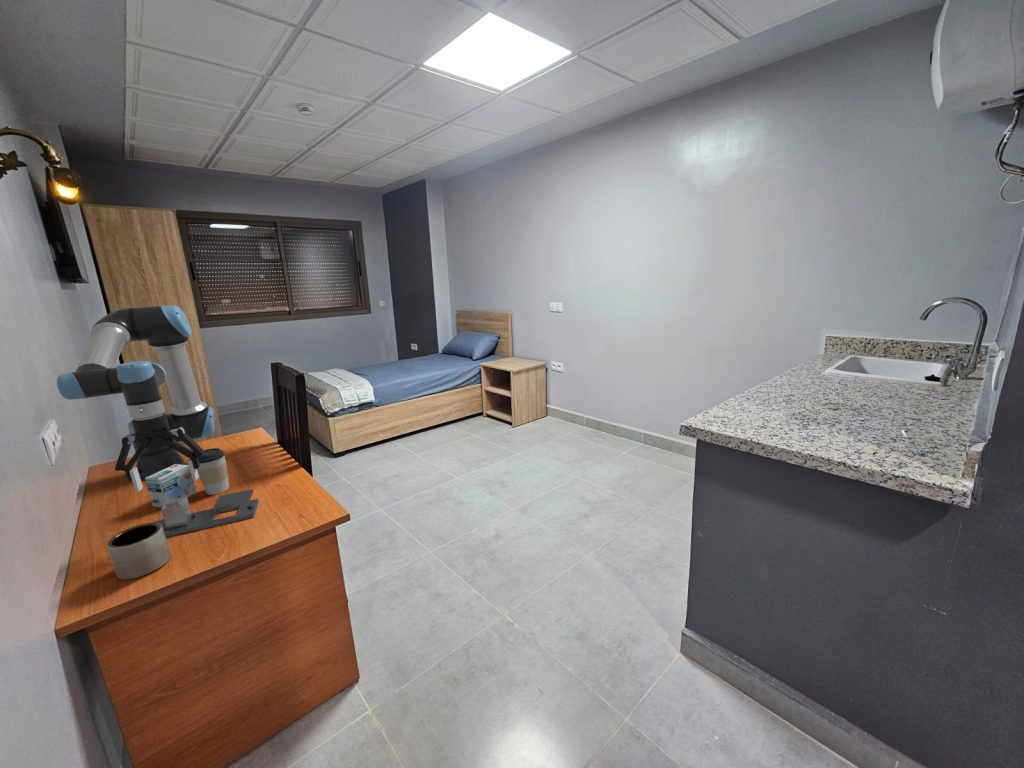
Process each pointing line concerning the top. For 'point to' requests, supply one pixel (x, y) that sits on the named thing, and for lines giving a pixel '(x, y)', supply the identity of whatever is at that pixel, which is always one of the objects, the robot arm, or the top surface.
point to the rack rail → (208, 517)
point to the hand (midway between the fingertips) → (168, 484)
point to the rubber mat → (234, 498)
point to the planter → (139, 550)
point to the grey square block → (177, 513)
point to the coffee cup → (213, 471)
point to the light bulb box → (170, 484)
